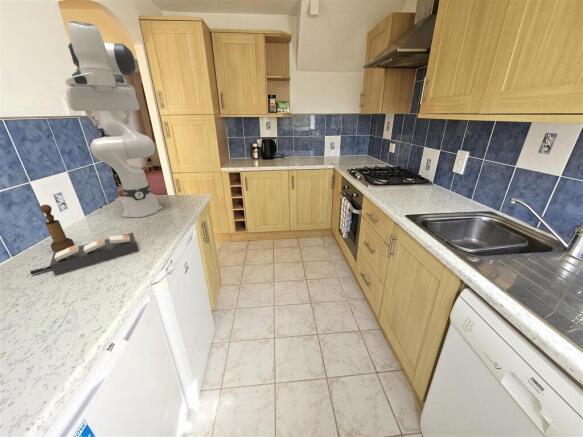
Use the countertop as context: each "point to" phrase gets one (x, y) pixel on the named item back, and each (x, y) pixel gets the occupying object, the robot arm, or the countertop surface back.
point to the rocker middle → (94, 245)
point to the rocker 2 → (119, 238)
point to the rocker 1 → (66, 252)
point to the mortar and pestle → (56, 231)
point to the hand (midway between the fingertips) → (112, 124)
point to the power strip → (90, 256)
